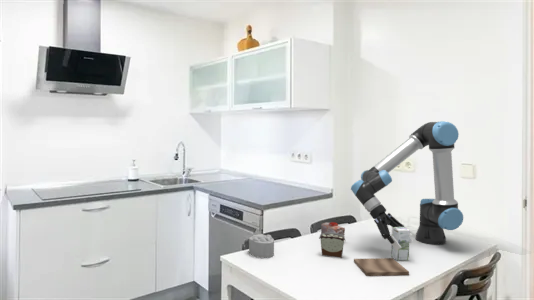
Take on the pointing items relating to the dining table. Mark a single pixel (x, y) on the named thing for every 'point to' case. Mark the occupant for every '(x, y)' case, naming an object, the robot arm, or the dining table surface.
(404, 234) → the syrup box
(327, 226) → the food item
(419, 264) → the dining table surface
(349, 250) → the dining table surface
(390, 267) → the walnut board
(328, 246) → the food container
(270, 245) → the lumpy-topped squat cylinder
